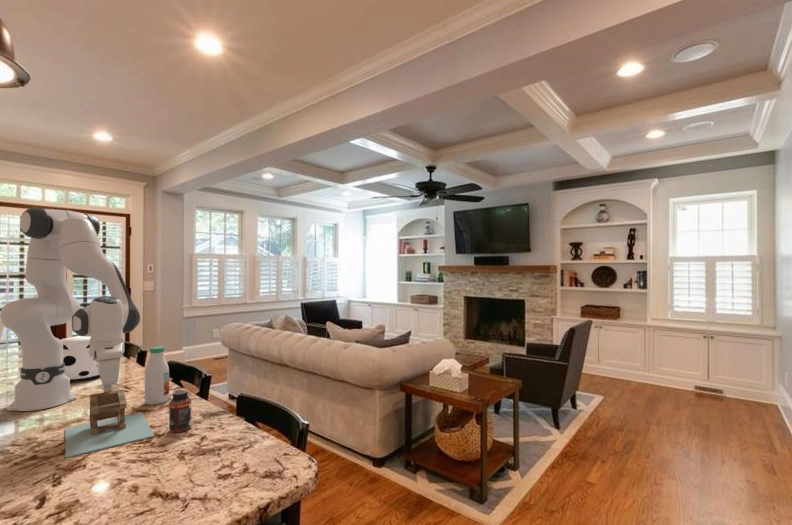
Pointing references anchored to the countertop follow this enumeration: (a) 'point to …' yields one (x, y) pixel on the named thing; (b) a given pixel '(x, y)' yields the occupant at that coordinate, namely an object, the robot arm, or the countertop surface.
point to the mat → (105, 435)
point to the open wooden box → (107, 410)
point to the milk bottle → (156, 378)
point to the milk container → (79, 359)
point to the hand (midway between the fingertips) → (107, 392)
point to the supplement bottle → (180, 412)
